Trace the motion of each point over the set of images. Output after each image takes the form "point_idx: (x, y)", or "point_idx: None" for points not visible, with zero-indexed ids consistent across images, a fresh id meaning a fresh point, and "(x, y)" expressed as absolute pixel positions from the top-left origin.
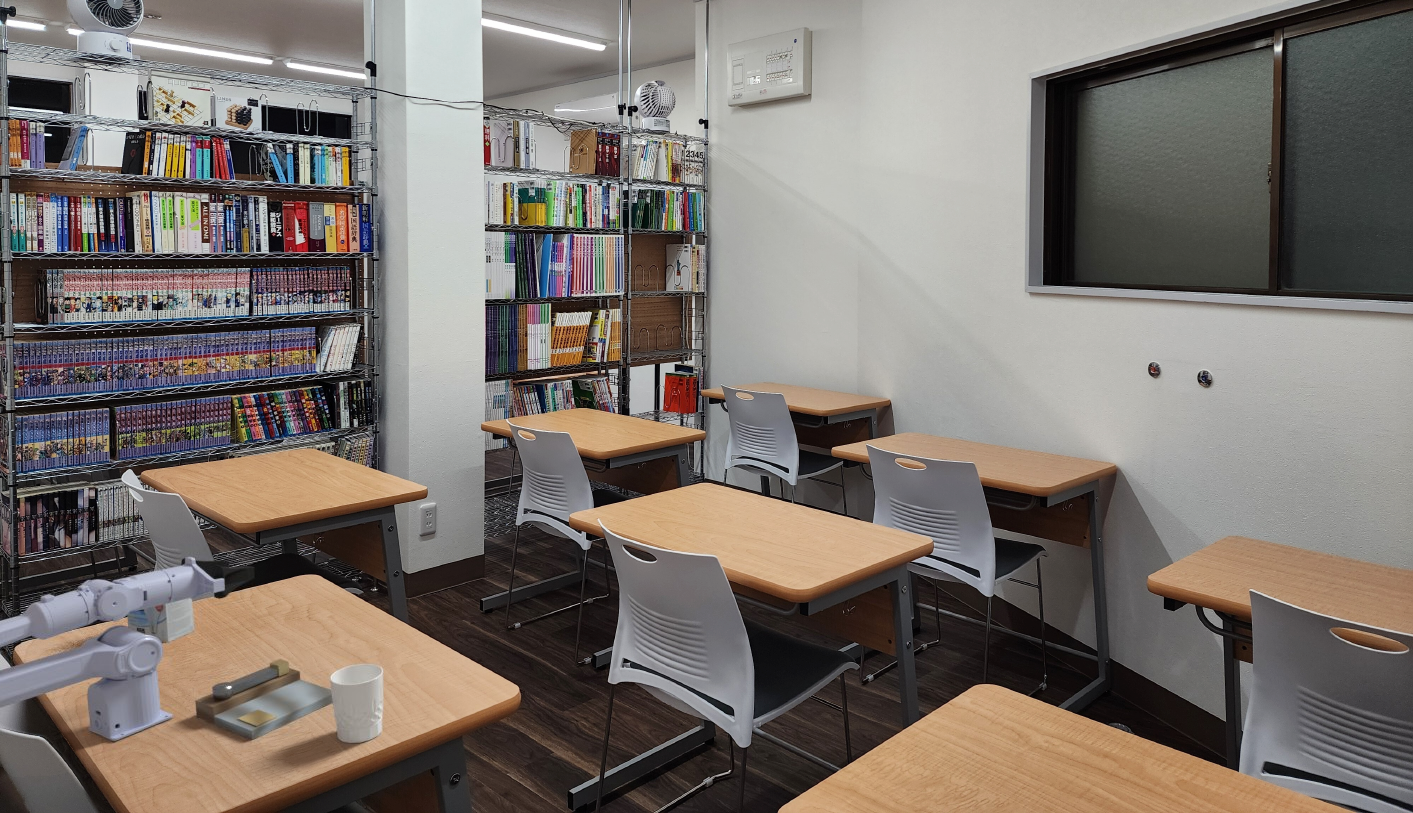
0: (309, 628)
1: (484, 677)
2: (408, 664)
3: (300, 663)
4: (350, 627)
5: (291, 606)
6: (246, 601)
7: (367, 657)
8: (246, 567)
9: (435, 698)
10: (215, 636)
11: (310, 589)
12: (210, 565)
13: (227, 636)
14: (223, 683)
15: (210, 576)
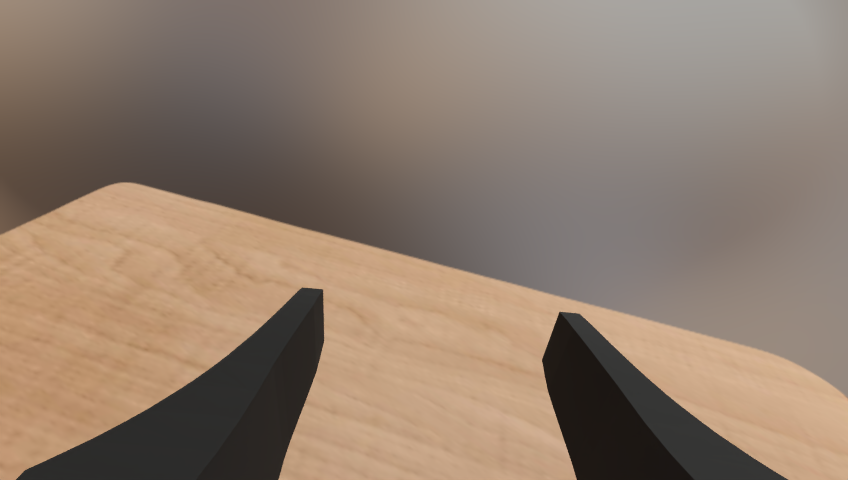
0: None
1: (723, 345)
2: None
3: (421, 430)
4: (360, 284)
5: (169, 254)
6: (37, 259)
7: (509, 357)
8: (610, 344)
9: (786, 433)
10: (59, 405)
11: (159, 208)
12: (278, 383)
13: (101, 393)
14: None
15: (283, 442)
